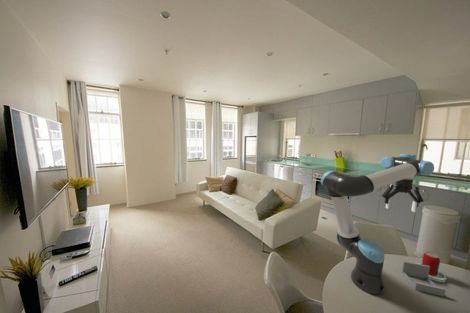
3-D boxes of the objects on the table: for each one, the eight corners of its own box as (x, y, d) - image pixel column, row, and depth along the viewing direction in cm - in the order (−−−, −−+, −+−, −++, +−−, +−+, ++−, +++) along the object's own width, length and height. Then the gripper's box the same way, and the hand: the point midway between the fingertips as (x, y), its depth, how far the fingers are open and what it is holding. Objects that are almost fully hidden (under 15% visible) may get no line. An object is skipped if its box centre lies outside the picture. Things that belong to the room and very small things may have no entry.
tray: (423, 278, 101) (424, 276, 101) (409, 263, 114) (409, 260, 113) (452, 285, 97) (453, 282, 97) (434, 268, 110) (435, 265, 109)
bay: (415, 289, 94) (417, 276, 93) (401, 272, 106) (403, 260, 105) (444, 296, 90) (446, 283, 89) (426, 278, 102) (428, 265, 101)
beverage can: (440, 277, 102) (444, 259, 100) (427, 275, 103) (430, 257, 101) (430, 269, 108) (433, 251, 107) (417, 267, 109) (420, 250, 108)
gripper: (383, 177, 108) (379, 209, 111) (435, 181, 100) (429, 215, 103) (378, 175, 115) (374, 205, 118) (425, 178, 107) (420, 210, 110)
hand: (400, 210), depth 110 cm, fingers open, 13 cm apart
